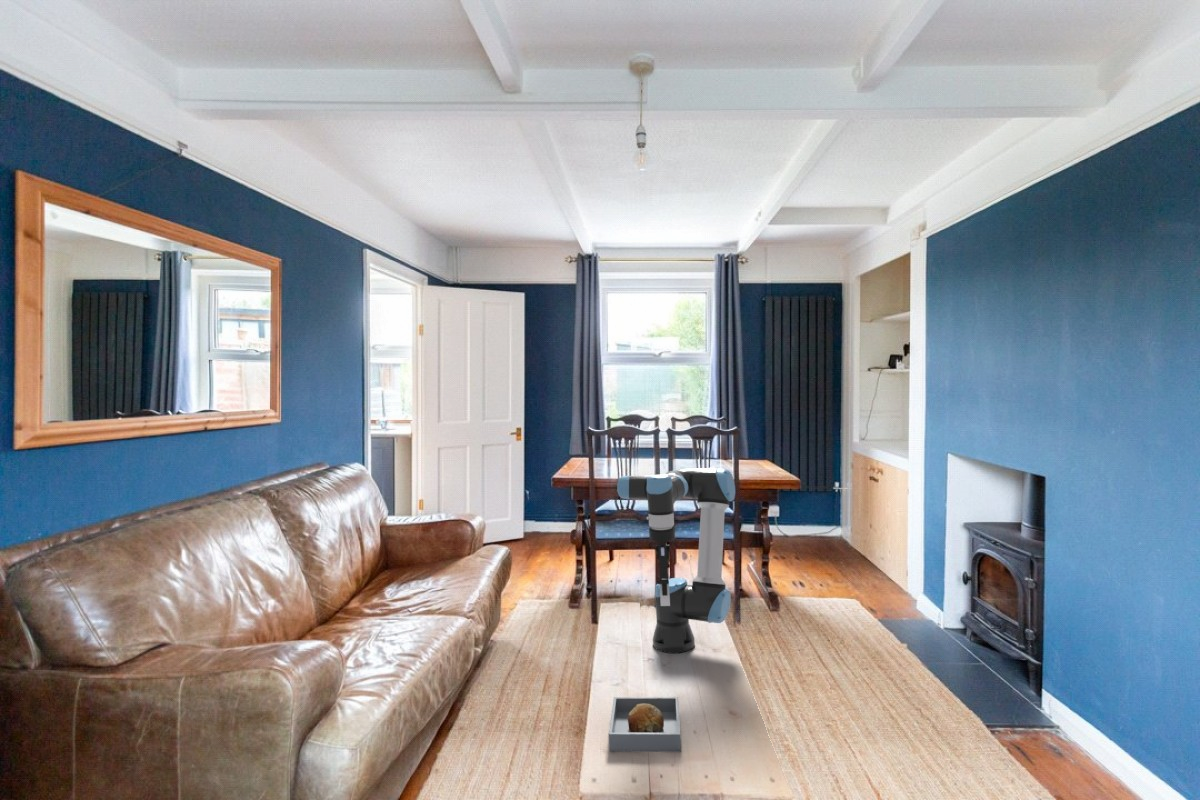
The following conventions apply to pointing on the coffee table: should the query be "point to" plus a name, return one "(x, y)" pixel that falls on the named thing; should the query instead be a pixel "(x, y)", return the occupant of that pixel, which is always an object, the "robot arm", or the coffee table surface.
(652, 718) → the bread roll
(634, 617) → the coffee table surface
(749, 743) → the coffee table surface
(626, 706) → the grey tray
